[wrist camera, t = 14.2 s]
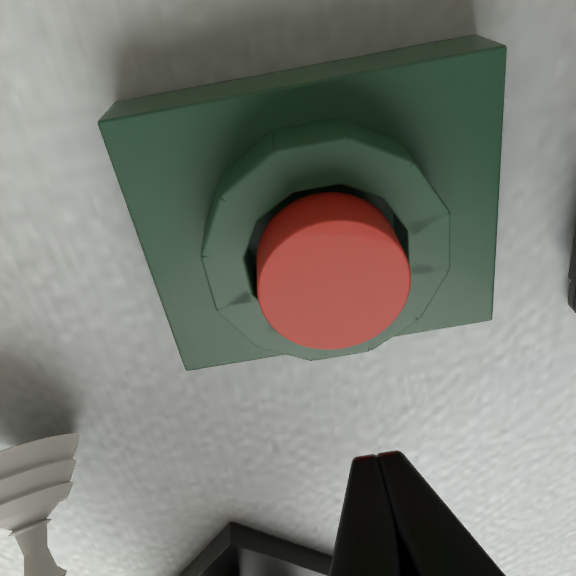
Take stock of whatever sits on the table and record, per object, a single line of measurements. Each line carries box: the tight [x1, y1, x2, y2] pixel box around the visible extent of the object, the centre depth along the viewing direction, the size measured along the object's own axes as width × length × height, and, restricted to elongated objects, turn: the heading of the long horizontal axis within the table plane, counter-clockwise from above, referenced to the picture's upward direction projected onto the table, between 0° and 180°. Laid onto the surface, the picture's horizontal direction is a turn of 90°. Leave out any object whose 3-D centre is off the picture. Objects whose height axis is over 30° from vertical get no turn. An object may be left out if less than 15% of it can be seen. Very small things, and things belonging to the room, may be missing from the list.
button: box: [257, 192, 411, 350], centre depth 14 cm, size 4×4×2 cm
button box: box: [98, 35, 507, 371], centre depth 17 cm, size 11×9×4 cm
